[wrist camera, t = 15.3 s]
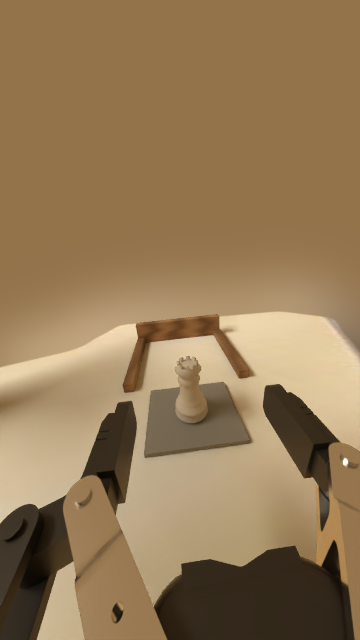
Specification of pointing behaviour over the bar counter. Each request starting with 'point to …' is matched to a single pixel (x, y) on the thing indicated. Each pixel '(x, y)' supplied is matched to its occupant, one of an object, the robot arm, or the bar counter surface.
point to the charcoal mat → (180, 436)
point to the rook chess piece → (190, 392)
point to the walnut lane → (177, 331)
